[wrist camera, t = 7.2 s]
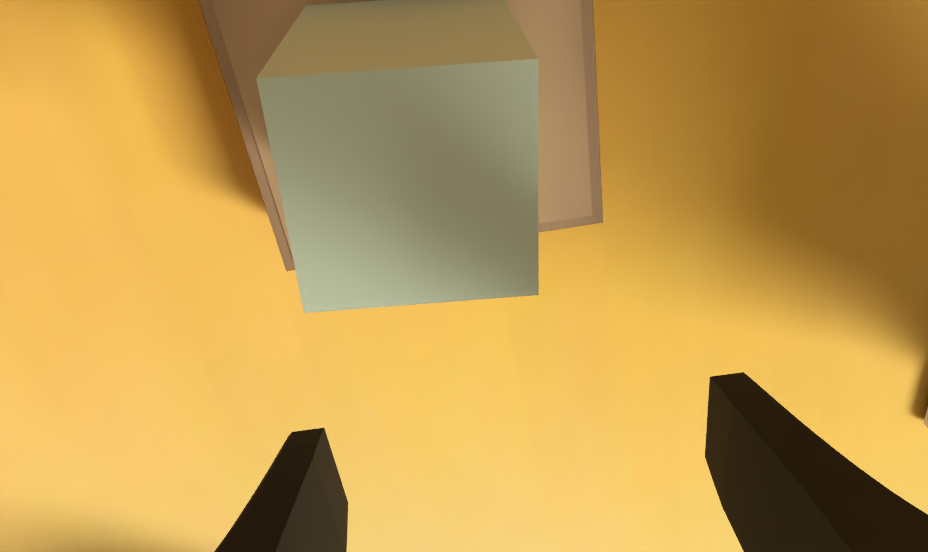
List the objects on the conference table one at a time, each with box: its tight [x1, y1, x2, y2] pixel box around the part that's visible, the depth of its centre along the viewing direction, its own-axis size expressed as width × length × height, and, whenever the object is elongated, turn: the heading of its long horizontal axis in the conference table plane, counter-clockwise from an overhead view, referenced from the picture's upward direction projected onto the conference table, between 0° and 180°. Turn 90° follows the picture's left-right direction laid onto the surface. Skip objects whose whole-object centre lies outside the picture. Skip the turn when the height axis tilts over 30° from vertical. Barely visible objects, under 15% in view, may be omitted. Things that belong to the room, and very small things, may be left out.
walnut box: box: [198, 0, 603, 271], centre depth 19 cm, size 9×9×3 cm
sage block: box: [256, 0, 538, 313], centre depth 15 cm, size 4×4×6 cm
